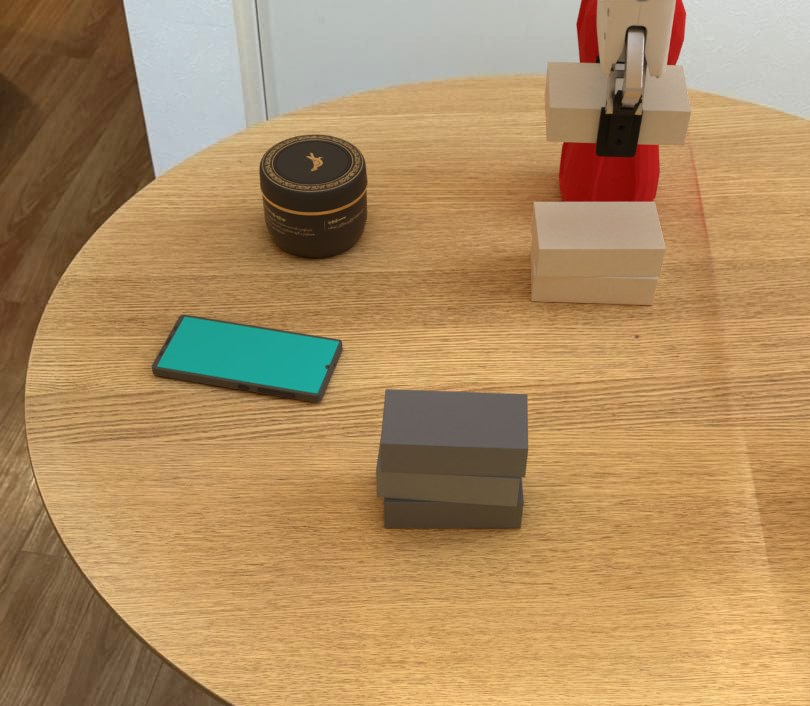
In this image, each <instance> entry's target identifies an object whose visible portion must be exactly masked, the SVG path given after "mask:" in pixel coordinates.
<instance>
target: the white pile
mask: <svg viewBox="0 0 810 706" xmlns="http://www.w3.org/2000/svg"><path fill="white" fill-rule="evenodd" d="M530 228H531V229H530V232H531V243H530V254H529V256H530V257H529V259H530V263H529V264H530V301H531V302H540V303H541V302H542V303H544V302H545V303H568V304H569V303H570V304H572V303H573V304H601V305H628V306H629V305H631V306H633V305H634V306H653V305H654V302H655V297H656V292H657V287H658V283H659V277H661V274H662V269H663V265H664V259H665V255H666V251H667V248H666V244H665V239H664V234H663V230H662V227H661V222H660V217H659V213H658V209H657V204H656V201H653V202H563V201H533V205H532V216H531V225H530Z"/></svg>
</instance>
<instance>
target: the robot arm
mask: <svg viewBox="0 0 810 706" xmlns="http://www.w3.org/2000/svg"><path fill="white" fill-rule="evenodd" d="M675 4H676V0H597V37H598V47H599V56H596V62H595V63H600V65H601V70H602V71H603V73H604V74H605V75H607V76H608V81H607V93H606V104H605V107H601V113H600V120H599V127H598V134H597V141H596V148H595V150H596V155H597V156H600V157H634V156H635V155H636V150H637V145H638V139H639V133H640V127H641V122H642V116H643V99H644V89H645V79H646V69H647V65H648V69H649V73H650V76H656V78H661V77H662V76H663V75H664V74H665V72H666V66H667V59H668V52H669V45H670V38H671V31H672V24H673V17H674V11H675ZM615 64H624V70H615ZM616 78H620V79H624V81H623V86H622V90H618V91H617V93H616V94H615V87H616Z"/></svg>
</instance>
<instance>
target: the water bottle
mask: <svg viewBox="0 0 810 706" xmlns="http://www.w3.org/2000/svg"><path fill="white" fill-rule="evenodd" d="M686 19H687V11H686V8H685V5H684V2H683V0H676V4H675V11H674V17H673V24H672V31H671V38H670V45H669V52H668V59H667V65H677V63H678V60H679V58H680V55H681V51H682V49H683V45H684V41H685V34H686V33H685V32H686V21H687V20H686ZM575 25H576V36H577V45H578V46H577V47H578V59H579V63H595V62H596V56H599V47H598V37H597V0H580V5H579V10H578V14H577V19H576V24H575ZM595 148H596V143H579V142H562V145H561V152H560V161H559V171H558V181H559V182H558V183H559V190H560V197H561V202H655V201H654V200H655V199H656V197H657V191H658V186H659V180H660V173H661V172H660V171H661V167H660V166H661V165H660V145H647V144H638V145H637V150H636V155H635V156H634V157H600V156H597V155H596V150H595Z"/></svg>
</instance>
